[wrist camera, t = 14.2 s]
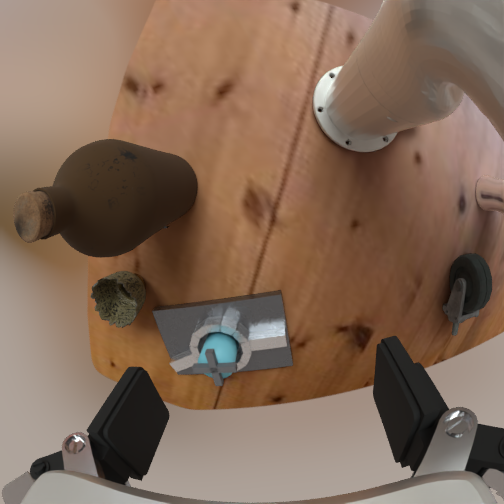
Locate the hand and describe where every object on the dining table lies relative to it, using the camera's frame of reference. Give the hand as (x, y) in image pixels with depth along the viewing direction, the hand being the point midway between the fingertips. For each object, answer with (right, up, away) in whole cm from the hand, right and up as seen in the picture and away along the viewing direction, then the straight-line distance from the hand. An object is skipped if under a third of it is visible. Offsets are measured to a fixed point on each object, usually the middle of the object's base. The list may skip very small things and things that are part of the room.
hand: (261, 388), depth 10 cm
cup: (-19, 0, +31) cm, 36 cm away
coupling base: (-5, -8, +32) cm, 34 cm away
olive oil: (-12, +14, +27) cm, 33 cm away
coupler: (-5, -8, +31) cm, 32 cm away
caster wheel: (+34, -1, +28) cm, 44 cm away
